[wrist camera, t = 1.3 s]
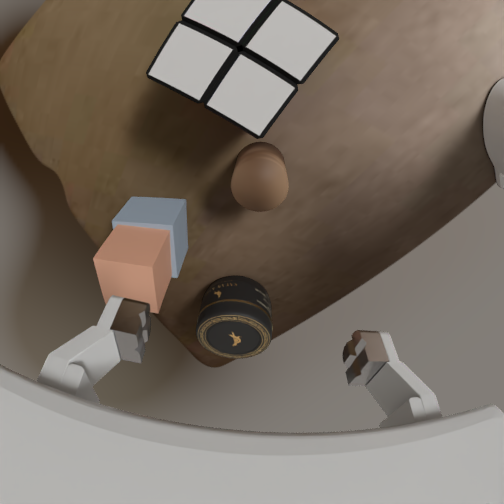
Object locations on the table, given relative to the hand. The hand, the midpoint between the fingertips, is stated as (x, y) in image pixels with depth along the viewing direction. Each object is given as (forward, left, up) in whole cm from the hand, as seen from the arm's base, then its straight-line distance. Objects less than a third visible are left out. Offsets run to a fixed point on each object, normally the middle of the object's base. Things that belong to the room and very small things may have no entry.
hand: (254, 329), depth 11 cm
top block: (+12, +10, -18) cm, 23 cm away
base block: (+12, +10, -24) cm, 28 cm away
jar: (+2, +22, -24) cm, 32 cm away
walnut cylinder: (0, +2, -24) cm, 24 cm away
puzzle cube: (+2, -10, -24) cm, 26 cm away
